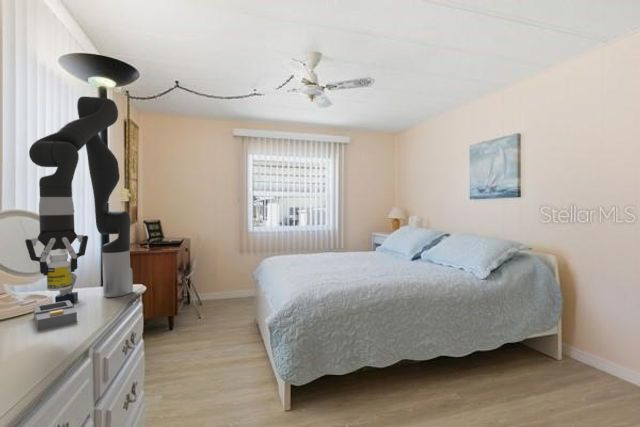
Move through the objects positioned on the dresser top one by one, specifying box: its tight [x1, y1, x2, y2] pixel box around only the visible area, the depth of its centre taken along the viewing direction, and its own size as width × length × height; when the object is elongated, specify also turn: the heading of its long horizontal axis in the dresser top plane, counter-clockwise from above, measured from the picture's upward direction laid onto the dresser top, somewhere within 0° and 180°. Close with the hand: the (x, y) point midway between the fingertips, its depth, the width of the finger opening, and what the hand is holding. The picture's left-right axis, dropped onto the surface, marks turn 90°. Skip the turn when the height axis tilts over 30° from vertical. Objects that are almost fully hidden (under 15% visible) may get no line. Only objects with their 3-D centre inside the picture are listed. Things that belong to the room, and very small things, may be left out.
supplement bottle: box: [46, 252, 72, 292], centre depth 90 cm, size 5×5×10 cm
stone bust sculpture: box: [54, 272, 79, 305], centre depth 117 cm, size 6×8×11 cm
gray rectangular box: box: [33, 300, 78, 331], centre depth 102 cm, size 21×9×4 cm, turn 45°
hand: (59, 273), depth 90 cm, fingers closed on supplement bottle, 5 cm apart
